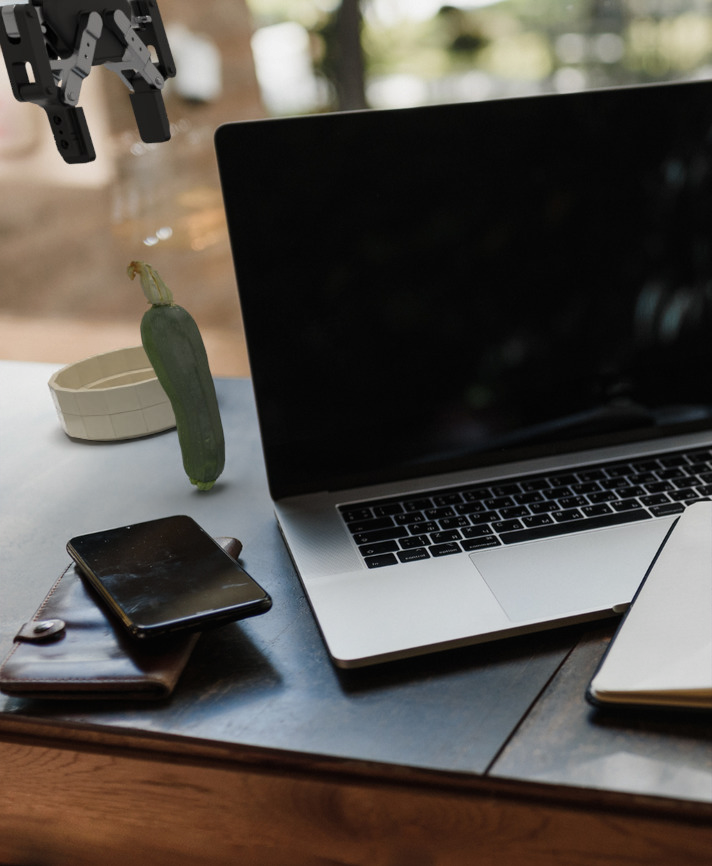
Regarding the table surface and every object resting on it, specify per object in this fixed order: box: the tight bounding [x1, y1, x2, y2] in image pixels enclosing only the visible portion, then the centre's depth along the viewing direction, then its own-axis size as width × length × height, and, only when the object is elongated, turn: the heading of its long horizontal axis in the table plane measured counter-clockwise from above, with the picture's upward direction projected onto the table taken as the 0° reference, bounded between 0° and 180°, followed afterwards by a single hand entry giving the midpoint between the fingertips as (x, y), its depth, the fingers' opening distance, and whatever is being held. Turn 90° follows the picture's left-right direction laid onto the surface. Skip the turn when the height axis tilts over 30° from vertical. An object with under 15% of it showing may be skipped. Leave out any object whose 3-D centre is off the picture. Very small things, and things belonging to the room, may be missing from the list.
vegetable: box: [126, 259, 226, 491], centre depth 87 cm, size 4×4×20 cm
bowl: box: [47, 344, 177, 442], centre depth 108 cm, size 14×14×6 cm
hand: (120, 152), depth 79 cm, fingers open, 8 cm apart
